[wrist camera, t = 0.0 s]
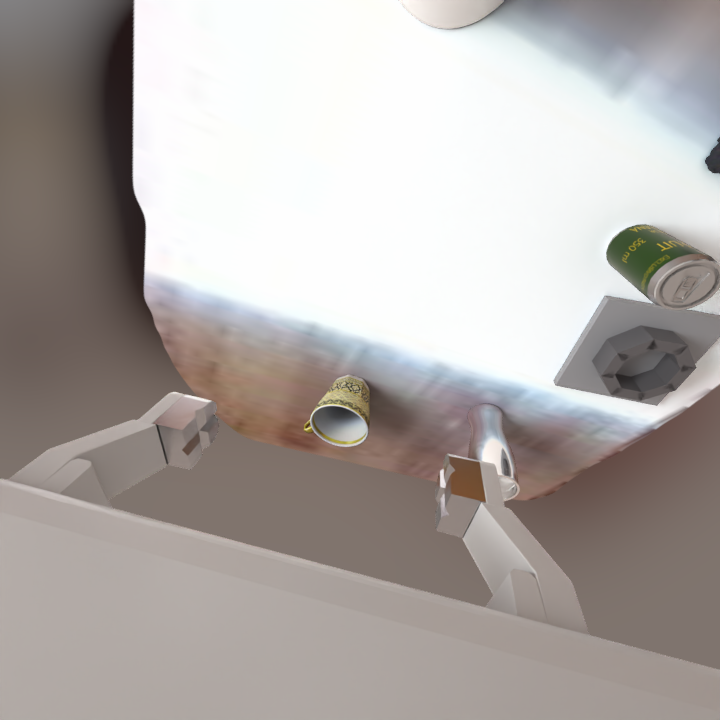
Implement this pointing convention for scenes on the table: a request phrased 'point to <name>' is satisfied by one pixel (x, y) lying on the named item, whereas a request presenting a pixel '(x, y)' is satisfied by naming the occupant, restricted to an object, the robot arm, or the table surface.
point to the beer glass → (493, 446)
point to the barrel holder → (637, 350)
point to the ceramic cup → (342, 413)
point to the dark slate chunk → (714, 159)
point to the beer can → (664, 267)
